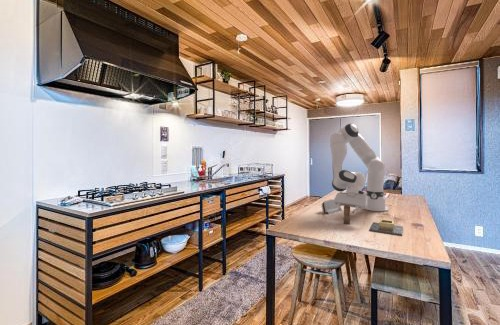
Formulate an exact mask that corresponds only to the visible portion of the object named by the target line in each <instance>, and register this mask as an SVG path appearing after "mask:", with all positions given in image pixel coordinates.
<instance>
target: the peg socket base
mask: <svg viewBox="0 0 500 325" xmlns="http://www.w3.org/2000/svg"><path fill="white" fill-rule="evenodd" d="M403 229H404V226H403V225H397V224H395V221H394V220H390V219H389V220H388V219H379V222H376V221H375V222H372V224H371V225H370V228H369V232H373V233H381V234H389V235H394V236H399V237H400V236H401V237H402V236H403V231H404V230H403Z"/></svg>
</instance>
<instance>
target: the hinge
mask: <svg viewBox="0 0 500 325" xmlns="http://www.w3.org/2000/svg"><path fill="white" fill-rule="evenodd" d="M334 199H335V198H333V199H326V200H324V201H322V203H321V209H322V214H325V213H327V215H331V213H332V214H335V212H336V213H339V210H338V205H336V204H335V203H334ZM340 212H343V208H341V211H340Z"/></svg>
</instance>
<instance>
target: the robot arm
mask: <svg viewBox="0 0 500 325" xmlns="http://www.w3.org/2000/svg"><path fill="white" fill-rule="evenodd" d="M329 144H330V146H329V147H330V152H331V154H330V155H331V160H332V162H331V163H332V176H333V177H332V178H333V179H332V181H331V186H332V187H331V188H333V189H334V190H335V191H336V192H337V193H336V195H335V196H334V198H333V199H334V203H335V204H336V205H338V210H339V211H340V212H342V211H341V209H342V206H343V207H344V206H345V205H347V206H350V208H354V209H352V213H353V214H357V212H358V211H359V210H360V209H361V210H367V211H372V212H388V211H389V208H388V207H387V203H386V202H387V201H386V199H385V195H384V193H385V192H384V179H385V167H386V166H385V163H384V161H383V160H381V159H380V157H379V156H378V155H377V154H376V152H375V151H374V150H373V148H372V147H371V146H370V144H369V143H368V142H367V141H366V139H365V138H364V137H363V136H362V135H361V134H360V133H359V129H358V127H357V126H356V125H355V124H354V123H347V124H346V125H345V126H343V127H342V128H340V129H339V130H338V131H337V132H333V133H332V134H331V135H330V138H329ZM347 144H349V146H350V147H351V148H352V149H353V151H354V152H355V153H356V155H357V156H358V158H359V159H360V160H361V161H362V163H363V164H364V165H365V167H366V168H367V180H366V176H365V173H364V174H363V173H362V172H360V171H356V172H353V171H350V170H347V169H342V168H343V163H344V160H345V159H346V157H347V154H348V147H347V146H348V145H347ZM365 183H367V184H366V191H364V190H363V189H364V186H365ZM344 191H346V192H344Z"/></svg>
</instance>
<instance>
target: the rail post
mask: <svg viewBox="0 0 500 325" xmlns="http://www.w3.org/2000/svg"><path fill="white" fill-rule="evenodd" d="M350 223H351V207H350V206H347V205H345V206H343V224H345V225H350Z"/></svg>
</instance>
